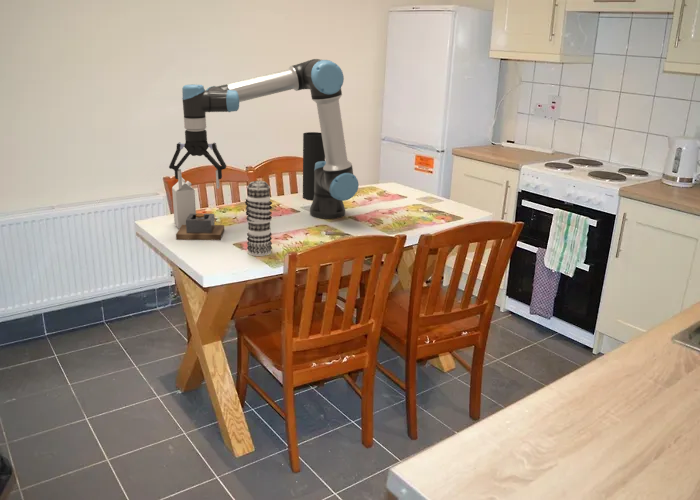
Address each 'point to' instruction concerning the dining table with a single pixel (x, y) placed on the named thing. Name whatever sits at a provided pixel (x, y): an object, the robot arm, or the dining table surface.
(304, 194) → the vase
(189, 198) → the milk carton
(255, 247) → the decorative candle
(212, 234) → the stand
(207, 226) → the dark grey hollow block
